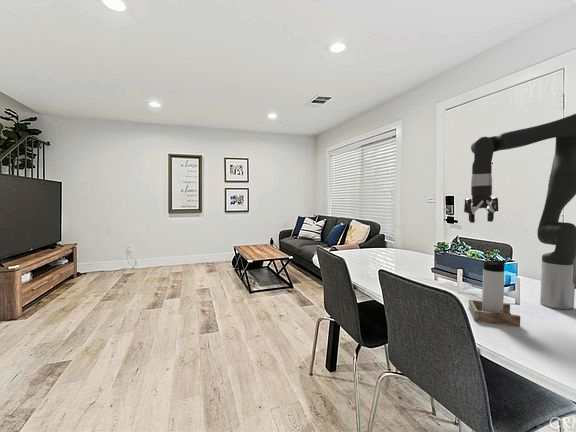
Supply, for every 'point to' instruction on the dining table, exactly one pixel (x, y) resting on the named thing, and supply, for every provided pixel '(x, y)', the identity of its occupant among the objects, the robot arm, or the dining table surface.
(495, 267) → the travel mug
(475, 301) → the brown wooden tray
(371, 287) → the dining table surface
